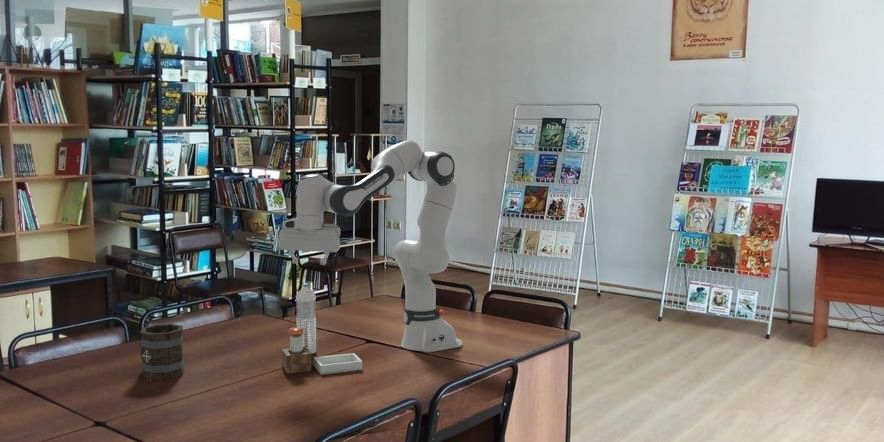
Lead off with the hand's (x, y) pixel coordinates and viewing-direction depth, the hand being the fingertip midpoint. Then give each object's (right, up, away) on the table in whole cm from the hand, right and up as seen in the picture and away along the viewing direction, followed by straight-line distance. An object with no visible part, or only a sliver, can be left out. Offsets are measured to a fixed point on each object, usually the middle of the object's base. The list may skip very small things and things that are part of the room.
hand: (309, 264), depth 257 cm
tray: (+10, -35, -1) cm, 36 cm away
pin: (-4, -35, -2) cm, 35 cm away
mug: (-48, -35, -6) cm, 59 cm away
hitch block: (-4, -35, -2) cm, 35 cm away
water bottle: (-4, -33, +16) cm, 37 cm away
